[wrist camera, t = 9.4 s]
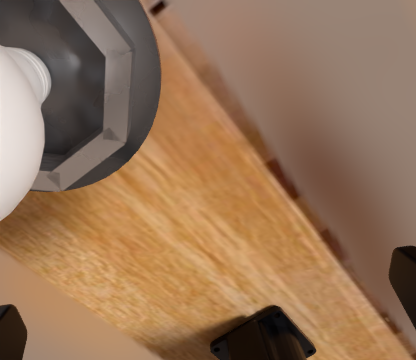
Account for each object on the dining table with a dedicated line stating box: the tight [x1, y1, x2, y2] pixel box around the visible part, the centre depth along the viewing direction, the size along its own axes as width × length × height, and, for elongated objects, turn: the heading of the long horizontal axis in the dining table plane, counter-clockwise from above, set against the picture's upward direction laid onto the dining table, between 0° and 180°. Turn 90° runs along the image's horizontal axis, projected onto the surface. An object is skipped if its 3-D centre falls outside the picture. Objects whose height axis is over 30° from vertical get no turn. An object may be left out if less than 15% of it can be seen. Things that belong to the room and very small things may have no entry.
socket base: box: [0, 0, 161, 192], centre depth 15 cm, size 12×12×4 cm
